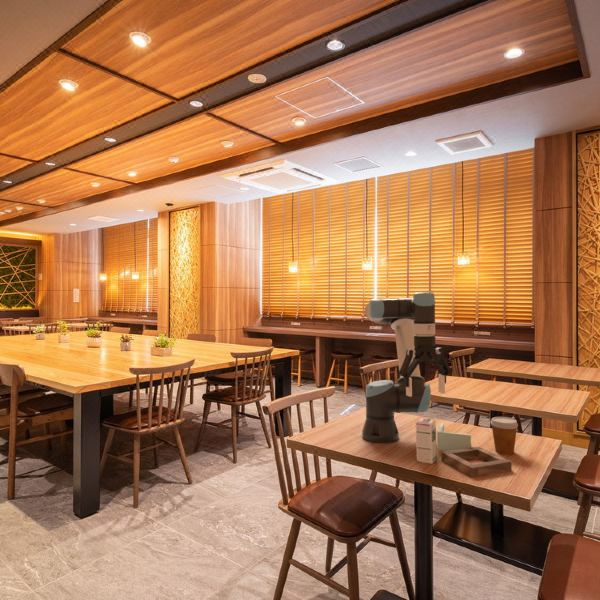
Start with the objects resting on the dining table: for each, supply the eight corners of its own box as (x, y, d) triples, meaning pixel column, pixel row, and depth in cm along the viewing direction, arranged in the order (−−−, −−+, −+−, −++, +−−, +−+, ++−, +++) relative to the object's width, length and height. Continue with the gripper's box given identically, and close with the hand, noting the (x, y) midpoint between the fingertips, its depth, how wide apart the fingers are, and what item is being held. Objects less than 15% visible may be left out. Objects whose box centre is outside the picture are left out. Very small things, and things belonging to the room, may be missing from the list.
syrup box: (432, 464, 154) (431, 423, 154) (416, 461, 157) (415, 420, 157) (436, 459, 159) (436, 419, 159) (420, 456, 162) (420, 417, 162)
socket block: (441, 460, 158) (441, 451, 158) (478, 454, 163) (478, 446, 163) (472, 477, 142) (471, 468, 142) (511, 470, 147) (511, 461, 147)
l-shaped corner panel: (471, 455, 163) (470, 435, 163) (437, 451, 169) (437, 431, 168) (473, 445, 174) (472, 426, 174) (441, 441, 179) (441, 423, 179)
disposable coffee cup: (519, 449, 167) (519, 418, 167) (517, 458, 158) (517, 424, 158) (492, 445, 171) (491, 415, 171) (489, 453, 163) (488, 421, 163)
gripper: (399, 337, 150) (400, 399, 150) (460, 334, 158) (461, 393, 158) (388, 335, 157) (389, 395, 157) (447, 333, 165) (448, 389, 165)
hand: (425, 394), depth 158 cm, fingers open, 13 cm apart
